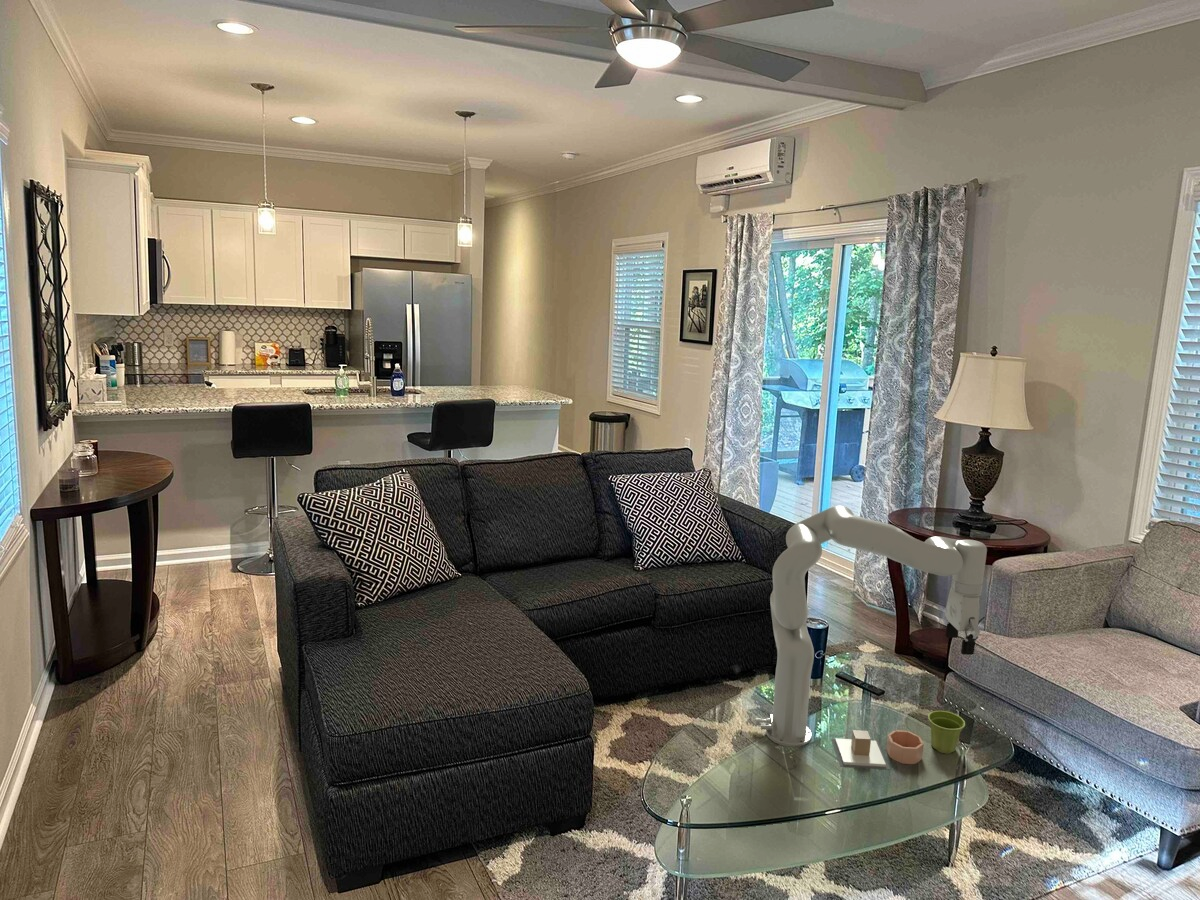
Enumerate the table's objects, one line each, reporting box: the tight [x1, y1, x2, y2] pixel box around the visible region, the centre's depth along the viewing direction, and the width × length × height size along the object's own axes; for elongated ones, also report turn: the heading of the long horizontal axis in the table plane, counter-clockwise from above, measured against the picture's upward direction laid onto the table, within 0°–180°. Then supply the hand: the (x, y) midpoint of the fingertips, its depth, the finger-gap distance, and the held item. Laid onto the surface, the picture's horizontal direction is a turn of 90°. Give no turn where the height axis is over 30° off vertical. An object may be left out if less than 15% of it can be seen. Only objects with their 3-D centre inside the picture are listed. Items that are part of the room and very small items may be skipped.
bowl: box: [885, 729, 925, 765], centre depth 228 cm, size 9×9×5 cm
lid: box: [834, 729, 886, 767], centre depth 228 cm, size 11×11×6 cm
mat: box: [830, 738, 891, 771], centre depth 229 cm, size 13×13×1 cm
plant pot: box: [927, 710, 966, 755], centre depth 232 cm, size 9×9×9 cm
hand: (959, 645), depth 227 cm, fingers open, 9 cm apart
